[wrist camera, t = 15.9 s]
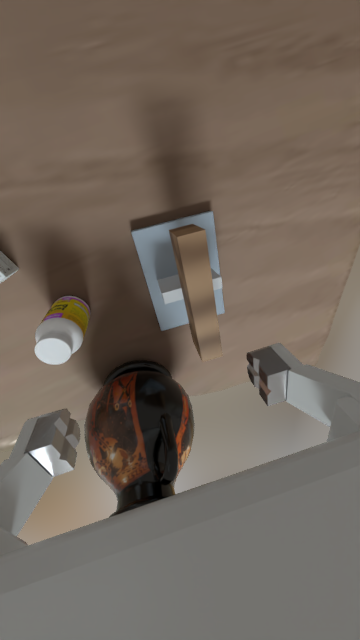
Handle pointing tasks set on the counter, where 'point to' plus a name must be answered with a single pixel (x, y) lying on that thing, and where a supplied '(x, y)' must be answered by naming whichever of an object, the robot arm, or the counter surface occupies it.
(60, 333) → the supplement bottle
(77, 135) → the counter surface
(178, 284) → the balance stand
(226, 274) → the counter surface
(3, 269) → the small box
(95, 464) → the amphora vase
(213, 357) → the wooden block
